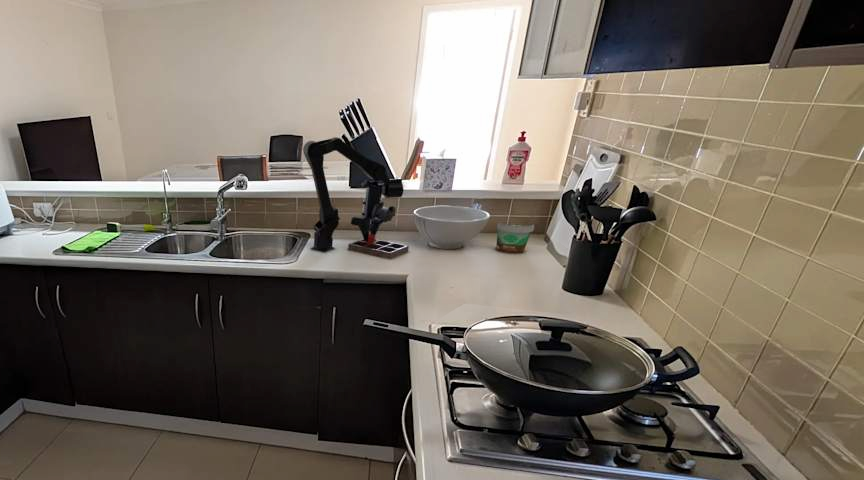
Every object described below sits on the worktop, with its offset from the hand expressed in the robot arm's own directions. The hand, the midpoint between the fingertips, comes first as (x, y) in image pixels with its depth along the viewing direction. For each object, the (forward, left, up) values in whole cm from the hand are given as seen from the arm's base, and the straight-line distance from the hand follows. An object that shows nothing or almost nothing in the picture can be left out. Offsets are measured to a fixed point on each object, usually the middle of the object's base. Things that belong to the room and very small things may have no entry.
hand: (369, 240), depth 195 cm
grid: (+6, -3, -2) cm, 7 cm away
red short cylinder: (0, 0, -1) cm, 1 cm away
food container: (+43, +27, -3) cm, 51 cm away
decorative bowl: (+21, +21, -3) cm, 30 cm away
